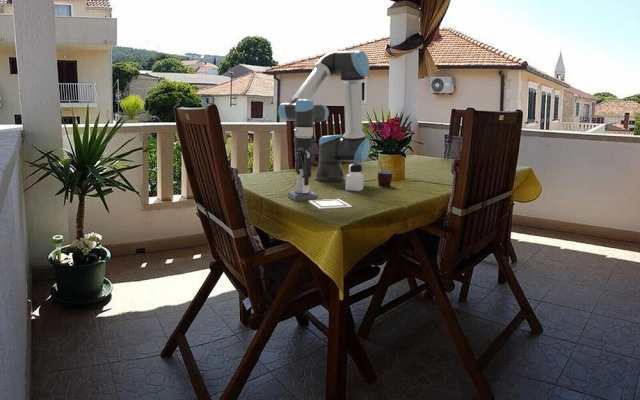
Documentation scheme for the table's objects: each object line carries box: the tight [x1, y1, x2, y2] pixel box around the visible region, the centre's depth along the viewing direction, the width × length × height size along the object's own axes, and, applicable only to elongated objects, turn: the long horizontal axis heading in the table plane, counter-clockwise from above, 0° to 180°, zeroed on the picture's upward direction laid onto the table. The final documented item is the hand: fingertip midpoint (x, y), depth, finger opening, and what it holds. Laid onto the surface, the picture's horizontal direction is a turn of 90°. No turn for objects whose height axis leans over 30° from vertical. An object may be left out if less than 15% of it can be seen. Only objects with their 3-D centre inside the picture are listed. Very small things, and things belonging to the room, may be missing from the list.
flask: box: [293, 169, 312, 194], centre depth 209 cm, size 7×7×10 cm
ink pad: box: [287, 190, 319, 202], centre depth 211 cm, size 10×10×2 cm
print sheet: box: [307, 198, 353, 210], centre depth 200 cm, size 14×14×1 cm
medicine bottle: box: [344, 163, 365, 192], centre depth 232 cm, size 7×7×12 cm
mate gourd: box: [376, 156, 393, 188], centre depth 242 cm, size 8×8×15 cm
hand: (302, 190), depth 210 cm, fingers closed on flask, 7 cm apart
